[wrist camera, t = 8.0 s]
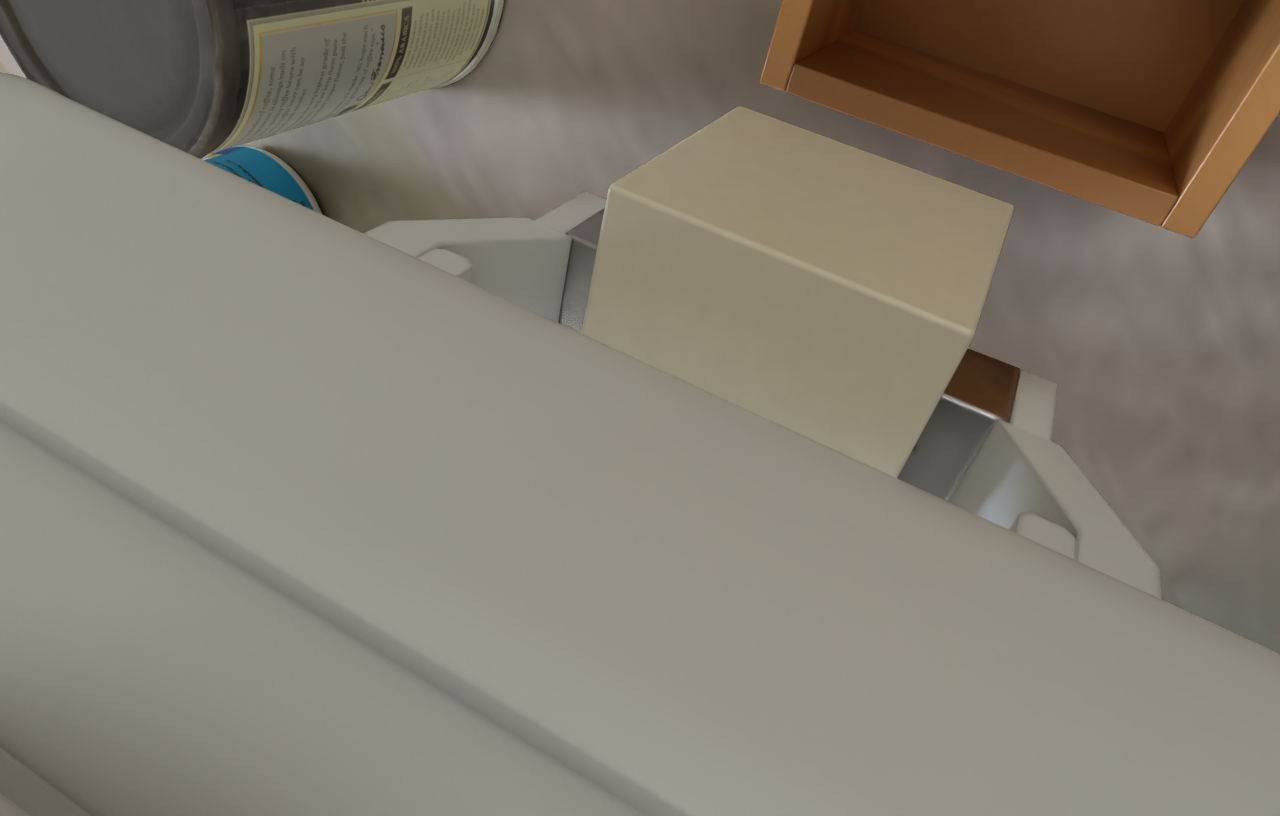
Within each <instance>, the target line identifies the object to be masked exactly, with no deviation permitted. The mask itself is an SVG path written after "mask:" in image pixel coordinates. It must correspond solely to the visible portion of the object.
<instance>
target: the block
mask: <svg viewBox="0 0 1280 816" xmlns="http://www.w3.org/2000/svg"><path fill="white" fill-rule="evenodd" d="M1013 211H1014V207H1013V206H1012V205H1011V204H1009V203H1006V202H1003V201H1001V200H998V199H995V198H992V197H990V196H987V195H984V194H981V193H979V192H976V191H973V190H970V189H968V188H965V187H962V186H959V185H957V184H954V183H951V182H948V181H946V180H943V179H940V178H937V177H935V176H932V175H929V174H926V173H924V172H921V171H918V170H915V169H913V168H910V167H907V166H904V165H902V164H899V163H896V162H893V161H891V160H888V159H885V158H882V157H879V156H877V155H874V154H871V153H868V152H866V151H863V150H860V149H857V148H855V147H852V146H849V145H846V144H844V143H841V142H838V141H835V140H833V139H830V138H827V137H824V136H822V135H819V134H816V133H813V132H811V131H808V130H805V129H802V128H800V127H797V126H794V125H791V124H789V123H786V122H783V121H780V120H778V119H775V118H772V117H769V116H767V115H764V114H761V113H758V112H755V111H753V110H750V109H747V108H744V107H742V106H741V107H737V108H735V109H734V110H732V111H730V112H729V113H727V114H725V115H724V116H722V117H721V118H719V119H717V120H716V121H714V122H712V123H711V124H709V125H708V126H706V127H704V128H703V129H701V130H699V131H698V132H696V133H694V134H693V135H691V136H690V137H688V138H686V139H685V140H683V141H681V142H680V143H678V144H676V145H675V146H673V147H672V148H670V149H668V150H667V151H665V152H663V153H662V154H660V155H659V156H657V157H655V158H654V159H652V160H650V161H649V162H647V163H645V164H644V165H642V166H641V167H639V168H637V169H636V170H634V171H632V172H631V173H629V174H627V175H626V176H624V177H623V178H621V179H619V180H618V181H616V182H614V183H613V184H611V185H610V187H609V189H608V194H607V199H606V204H605V210H604V215H603V221H602V226H601V231H600V237H599V242H598V247H597V253H596V258H595V263H594V269H593V274H592V280H591V285H590V290H589V296H588V301H587V306H586V312H585V317H584V322H583V328H582V333H581V334H583V335H586V336H588V337H590V338H592V339H594V340H597V341H599V342H601V343H603V344H605V345H607V346H610V347H612V348H614V349H616V350H618V351H621V352H623V353H625V354H627V355H629V356H631V357H634V358H636V359H638V360H640V361H642V362H644V363H647V364H649V365H651V366H653V367H655V368H658V369H660V370H662V371H664V372H666V373H668V374H671V375H673V376H675V377H677V378H679V379H682V380H684V381H686V382H688V383H690V384H692V385H695V386H697V387H699V388H701V389H703V390H706V391H708V392H710V393H712V394H714V395H716V396H719V397H721V398H723V399H725V400H727V401H729V402H732V403H734V404H736V405H738V406H740V407H743V408H745V409H747V410H749V411H751V412H753V413H756V414H758V415H760V416H762V417H764V418H767V419H769V420H771V421H773V422H775V423H777V424H780V425H782V426H784V427H786V428H788V429H791V430H793V431H795V432H797V433H799V434H801V435H804V436H806V437H808V438H810V439H812V440H814V441H817V442H819V443H821V444H823V445H825V446H828V447H830V448H832V449H834V450H836V451H838V452H841V453H843V454H845V455H847V456H849V457H852V458H854V459H856V460H858V461H860V462H862V463H865V464H867V465H869V466H871V467H873V468H876V469H878V470H880V471H882V472H884V473H886V474H889V475H891V476H893V477H895V478H898V476H899V474H900V472H901V470H902V468H903V467H904V465H905V463H906V461H907V459H908V457H909V456H910V454H911V452H912V450H913V448H914V446H915V444H916V443H917V441H918V439H919V437H920V435H921V433H922V432H923V430H924V428H925V426H926V424H927V422H928V420H929V419H930V417H931V415H932V413H933V411H934V409H935V408H936V406H937V404H938V402H939V400H940V398H941V397H942V395H943V393H944V391H945V389H946V387H947V385H948V384H949V382H950V380H951V378H952V376H953V374H954V373H955V371H956V369H957V367H958V365H959V363H960V361H961V360H962V358H963V356H964V354H965V352H966V350H967V349H968V347H969V345H970V343H971V341H972V339H973V338H974V335H975V332H976V329H977V325H978V322H979V319H980V316H981V313H982V310H983V306H984V303H985V300H986V297H987V294H988V291H989V287H990V284H991V281H992V278H993V275H994V272H995V268H996V265H997V262H998V259H999V256H1000V253H1001V249H1002V246H1003V243H1004V240H1005V237H1006V234H1007V230H1008V227H1009V224H1010V221H1011V218H1012V215H1013Z"/></svg>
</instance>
